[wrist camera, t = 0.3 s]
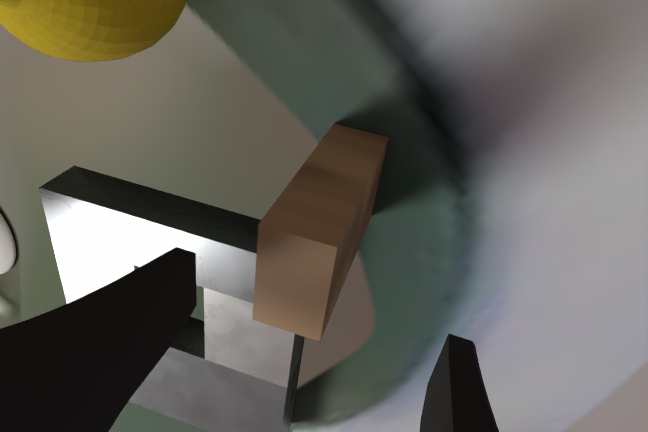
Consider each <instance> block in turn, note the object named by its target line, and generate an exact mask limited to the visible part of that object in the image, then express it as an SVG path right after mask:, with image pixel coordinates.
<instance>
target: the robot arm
mask: <svg viewBox="0 0 648 432" xmlns="http://www.w3.org/2000/svg"><path fill="white" fill-rule="evenodd" d="M195 306H196V253H194V252H191V251H187V250H184V249H181V248H178V247H175V248H174V249H172V250H170V251H168V252H166V253H164V254H162V255H161V256H159V257H157V258H155V259H153V260H152V261H150V262H148V263H146V264H144V265H143V266H141V267H139V268H137V269H135V270H134V271H132V272H130V273H128V274H126V275H124V276H122V277H121V278H119V279H117V280H115V281H113V282H111V283H109V284H107V285H106V286H104V287H101V288H99V289H97V290H95V291H93V292H91V293H89V294H87V295H85V296H83V297H81V298H79V299H77V300H75V301H72V302H70V303H68V304H66V305H63V306H61V307H59V308H57V309H54V310H52V311H50V312H46V313H44V314H41V315H39V316H36V317H34V318H31V319H29V320H26V321H23V322H20V323H17V324H14V325H11V326H8V327H5V328H2V329H0V432H108V431H109V430H110V428H111V427H112V425H113V423H114V422H115V420H116V419H117V417H118V415H119V414H120V412H121V411H122V409H123V408H124V407H125V405H126V404H127V402H128V401H129V400H130V398H131V397H132V396H133V394H134V393H135V392H136V390H137V389H138V388H139V387H140V385H141V384H142V383H143V381H144V380H145V379H146V377H147V376H148V375H149V374H150V372H151V371H152V370H153V368H154V367H155V366H156V365H157V363H158V362H159V361H160V359H161V358H162V357H163V355H164V354H165V353H166V352H167V350H168V349H169V348H170V346H171V345H172V344H173V342H174V341H175V340H176V338H177V337H178V336H179V334H180V332H181V331H182V329H183V327H184V326H185V324H186V322H187V321H188V319H189V317H190V315H191V314H192V312H193V310H194V308H195ZM420 432H499V430H498V427H497V424H496V421H495V418H494V415H493V412H492V409H491V406H490V403H489V400H488V397H487V393H486V390H485V386H484V382H483V379H482V375H481V371H480V367H479V363H478V358H477V353H476V348H475V345H474V343H473V341H470V340H467V339H464V338H461V337H457V336H454V335H451V334H448V337H447V339H446V341H445V344H444V346H443V349H442V351H441V353H440V356H439V358H438V361H437V363H436V365H435V368H434V370H433V372H432V375H431V377H430V380H429V382H428V386H427V391H426V396H425V401H424V406H423V411H422V416H421V423H420Z"/></svg>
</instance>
